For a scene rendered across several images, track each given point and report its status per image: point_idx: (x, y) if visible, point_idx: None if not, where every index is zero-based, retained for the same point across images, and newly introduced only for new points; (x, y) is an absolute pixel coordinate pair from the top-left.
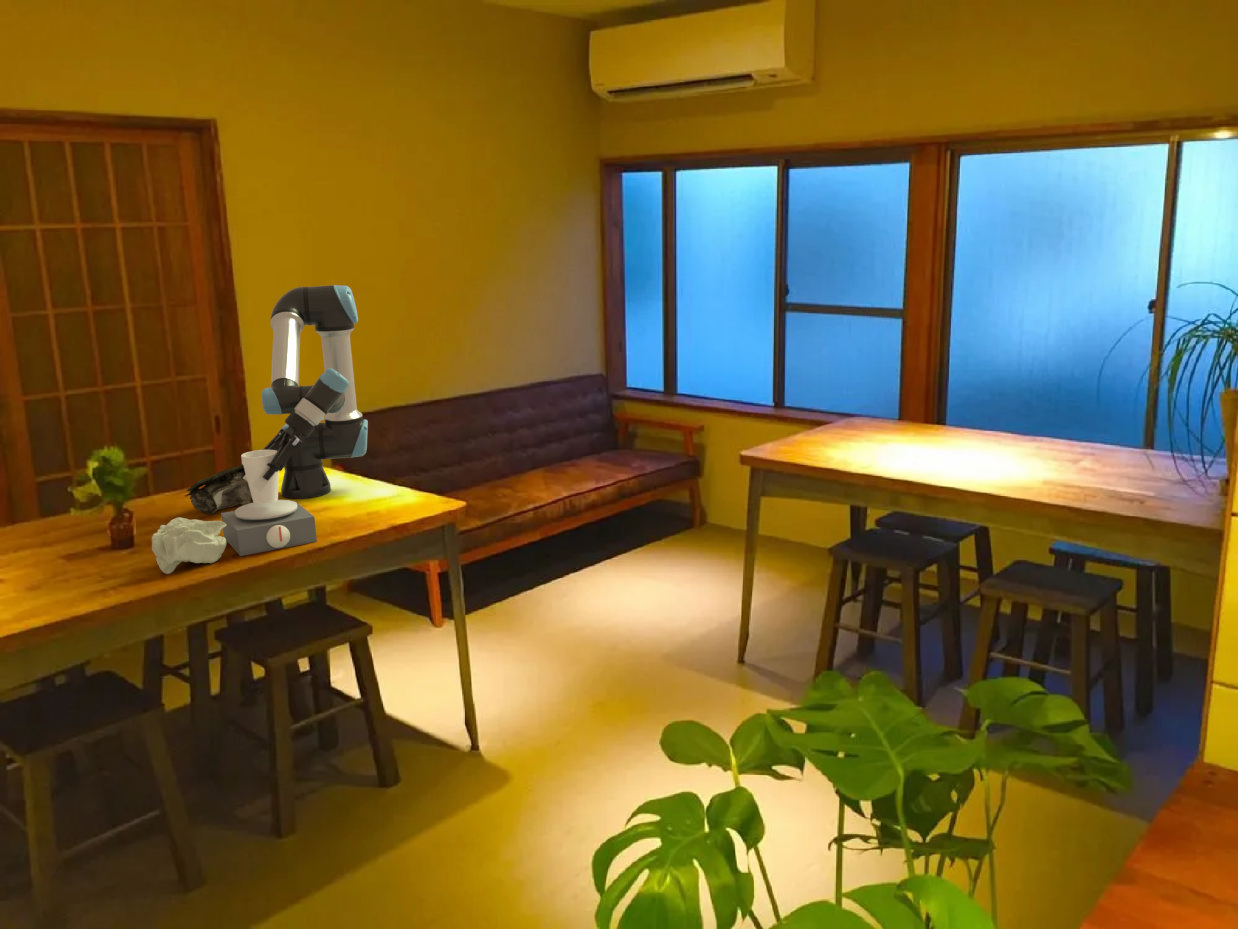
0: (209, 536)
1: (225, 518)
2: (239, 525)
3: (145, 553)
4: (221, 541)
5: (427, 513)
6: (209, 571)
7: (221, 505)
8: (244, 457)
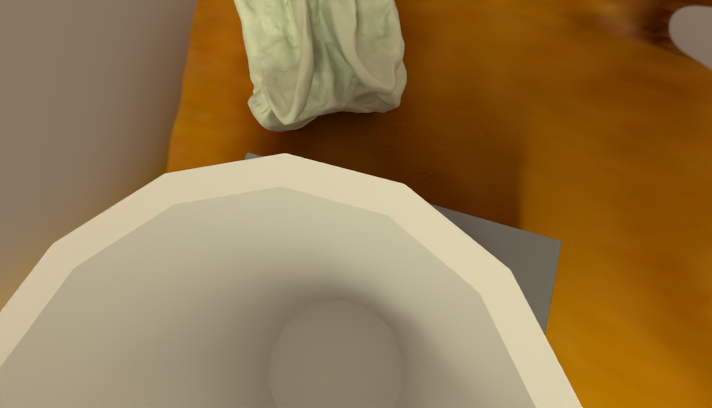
0: (251, 49)
1: (462, 213)
2: None
3: (547, 37)
4: (254, 102)
5: None
6: (231, 74)
7: None
8: (257, 162)
